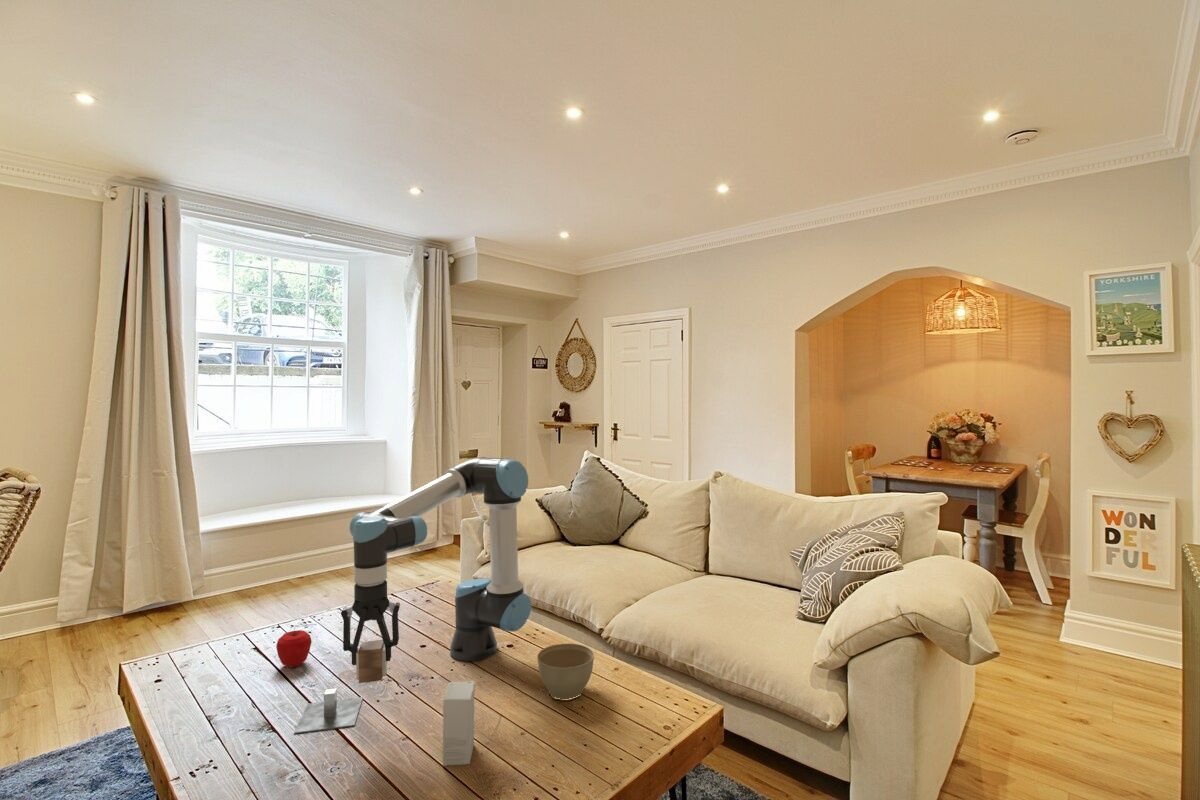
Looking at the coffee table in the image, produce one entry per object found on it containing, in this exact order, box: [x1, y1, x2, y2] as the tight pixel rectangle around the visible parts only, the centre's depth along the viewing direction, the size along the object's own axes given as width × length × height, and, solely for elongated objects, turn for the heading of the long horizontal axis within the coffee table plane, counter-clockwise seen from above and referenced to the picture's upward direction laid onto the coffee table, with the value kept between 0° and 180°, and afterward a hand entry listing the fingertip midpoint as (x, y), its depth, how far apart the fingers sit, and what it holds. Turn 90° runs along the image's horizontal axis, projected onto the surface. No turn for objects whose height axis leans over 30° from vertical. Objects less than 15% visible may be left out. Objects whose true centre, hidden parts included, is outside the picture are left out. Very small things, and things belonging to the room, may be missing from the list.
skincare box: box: [442, 680, 476, 767], centre depth 135 cm, size 8×7×16 cm
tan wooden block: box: [358, 639, 385, 684], centre depth 142 cm, size 5×5×8 cm
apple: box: [275, 629, 312, 668], centre depth 181 cm, size 10×10×11 cm
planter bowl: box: [537, 642, 595, 699], centre depth 164 cm, size 16×16×11 cm
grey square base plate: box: [293, 687, 363, 735], centre depth 152 cm, size 14×14×6 cm
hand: (371, 675), depth 142 cm, fingers closed on tan wooden block, 5 cm apart
